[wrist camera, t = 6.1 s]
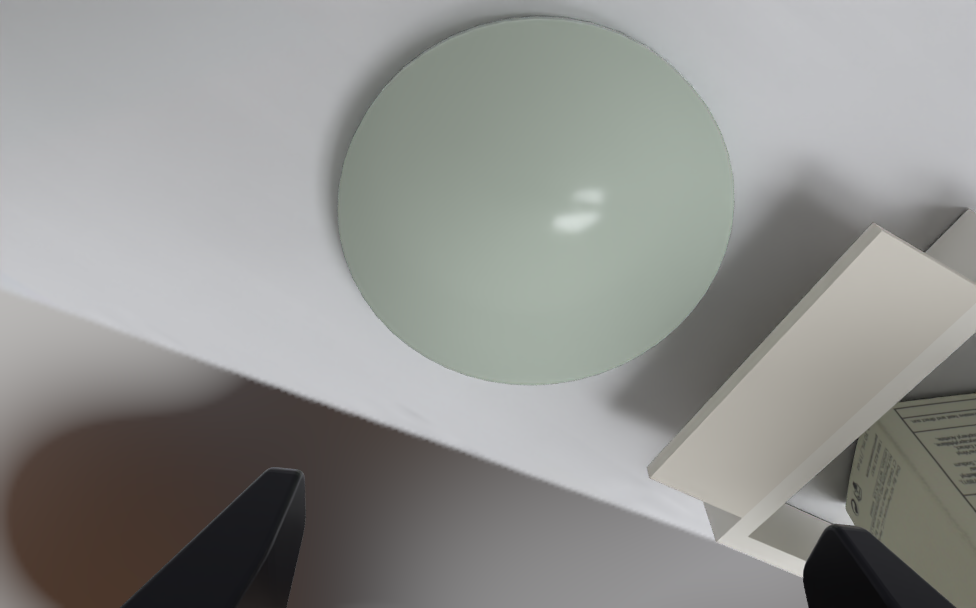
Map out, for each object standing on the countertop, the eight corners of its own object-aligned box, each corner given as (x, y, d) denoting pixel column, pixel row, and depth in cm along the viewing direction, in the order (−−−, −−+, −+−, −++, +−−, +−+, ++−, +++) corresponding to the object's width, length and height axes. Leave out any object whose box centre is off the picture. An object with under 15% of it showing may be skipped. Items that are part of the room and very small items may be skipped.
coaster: (811, 146, 15) (822, 155, 15) (589, 417, 19) (591, 431, 19) (448, -75, 13) (446, -73, 13) (288, 283, 17) (281, 295, 17)
